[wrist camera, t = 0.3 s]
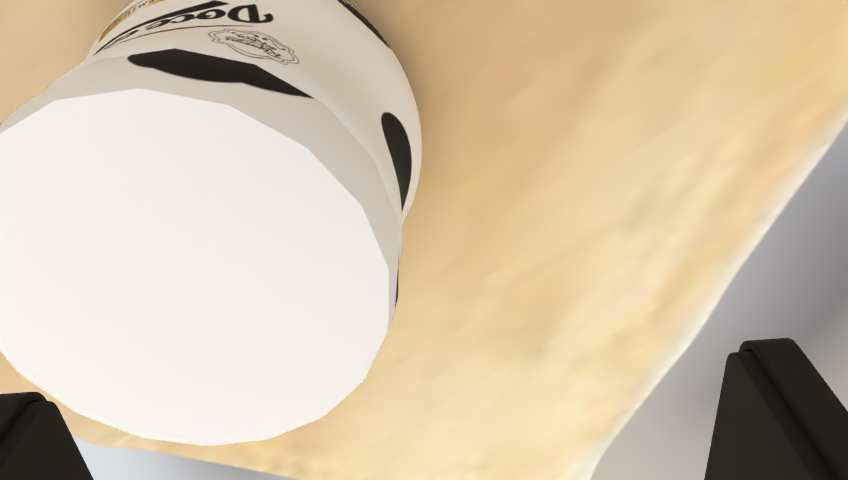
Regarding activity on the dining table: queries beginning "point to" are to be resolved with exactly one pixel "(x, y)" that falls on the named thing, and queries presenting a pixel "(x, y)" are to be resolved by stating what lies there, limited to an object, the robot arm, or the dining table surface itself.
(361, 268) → the milk container
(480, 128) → the dining table surface
